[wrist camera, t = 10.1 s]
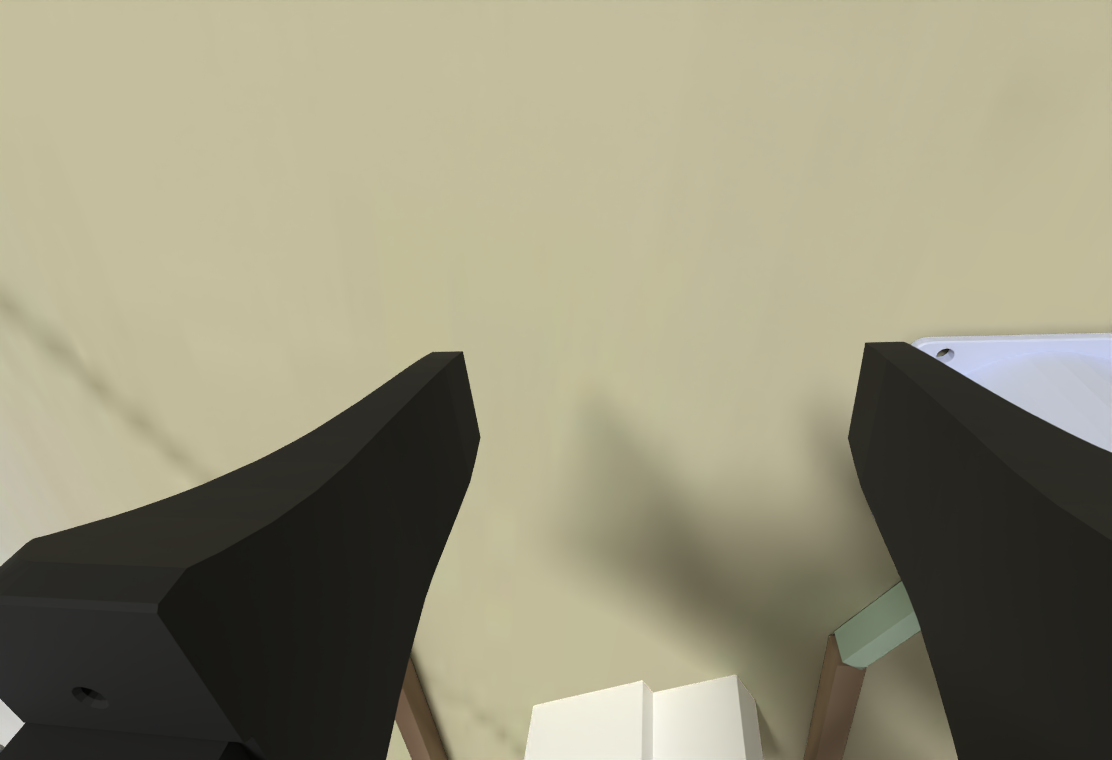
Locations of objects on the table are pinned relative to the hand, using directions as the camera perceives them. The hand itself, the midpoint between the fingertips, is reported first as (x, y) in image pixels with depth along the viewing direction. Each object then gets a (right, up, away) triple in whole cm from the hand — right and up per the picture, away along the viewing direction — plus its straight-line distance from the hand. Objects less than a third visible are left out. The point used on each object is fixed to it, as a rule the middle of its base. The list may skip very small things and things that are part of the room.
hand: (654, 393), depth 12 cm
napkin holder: (+3, -17, +22) cm, 28 cm away
